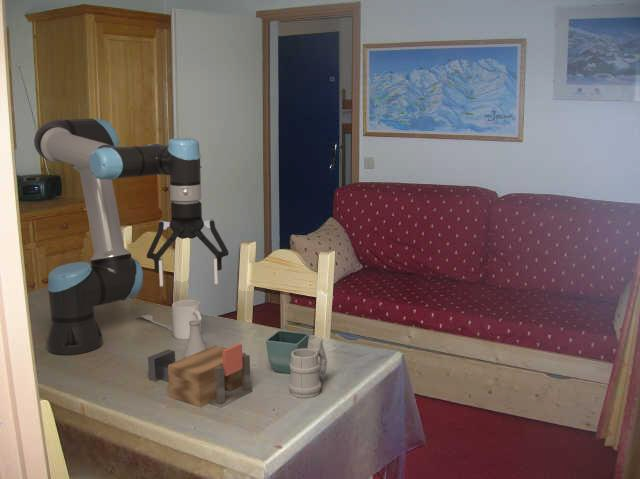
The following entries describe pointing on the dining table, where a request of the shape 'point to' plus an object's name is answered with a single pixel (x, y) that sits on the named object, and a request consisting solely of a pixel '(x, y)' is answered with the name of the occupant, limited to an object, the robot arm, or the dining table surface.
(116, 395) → the dining table surface
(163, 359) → the dark grey block
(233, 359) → the block
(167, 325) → the fork
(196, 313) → the mug
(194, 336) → the flask
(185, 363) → the block
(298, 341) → the flower pot
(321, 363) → the mug
